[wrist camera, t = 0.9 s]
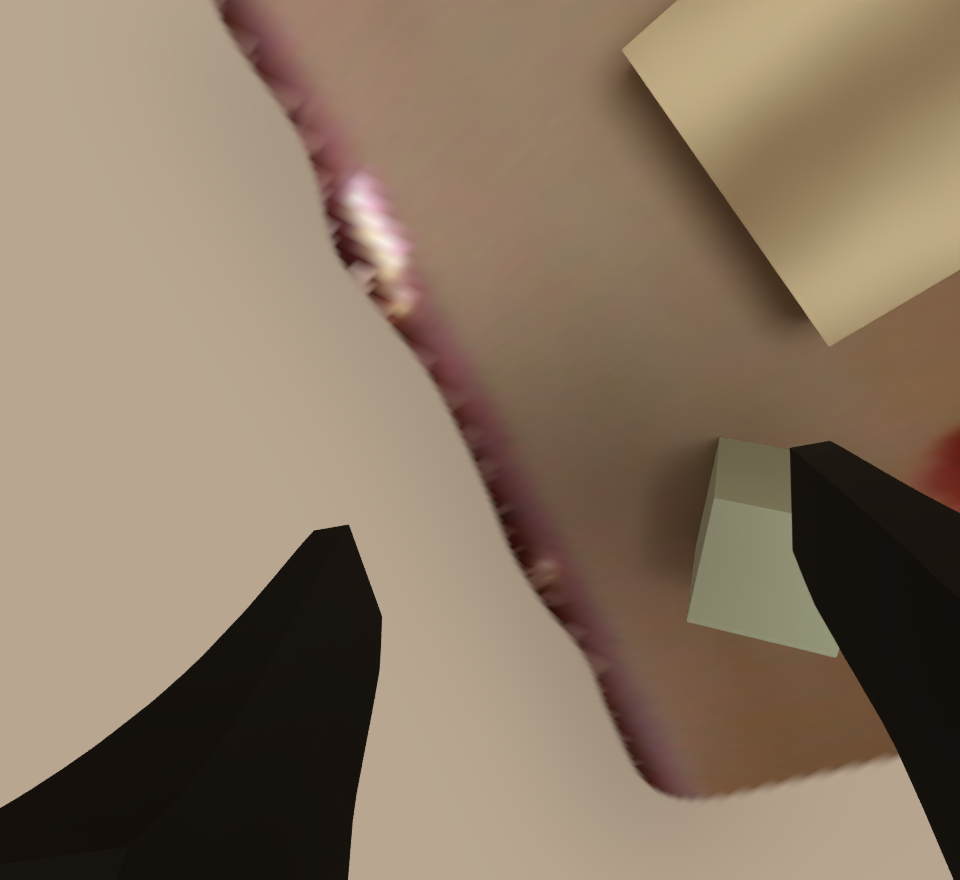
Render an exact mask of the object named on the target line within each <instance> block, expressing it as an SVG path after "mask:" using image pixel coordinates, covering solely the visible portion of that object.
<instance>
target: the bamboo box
mask: <svg viewBox="0 0 960 880" xmlns="http://www.w3.org/2000/svg"><path fill="white" fill-rule="evenodd" d="M622 51H623V53H624V54H625V55H626V57H627V58H628V60H629V61H630V63H631V64H632V65H633V67H634V68H635V70H636V71H637V73H638V74H639V75H640V77H641V78H642V80H643V81H644V83H645V84H646V86H647V87H648V88H649V90H650V91H651V93H652V94H653V96H654V97H655V98H656V100H657V101H658V103H659V104H660V106H661V107H662V108H663V110H664V111H665V113H666V114H667V116H668V117H669V118H670V120H671V121H672V123H673V124H674V126H675V127H676V128H677V130H678V131H679V133H680V134H681V136H682V137H683V139H684V140H685V141H686V143H687V144H688V146H689V147H690V149H691V150H692V151H693V153H694V154H695V156H696V157H697V159H698V160H699V161H700V163H701V164H702V166H703V167H704V169H705V170H706V171H707V173H708V174H709V176H710V177H711V179H712V180H713V181H714V183H715V184H716V186H717V187H718V189H719V190H720V191H721V193H722V194H723V196H724V197H725V199H726V200H727V202H728V203H729V204H730V206H731V207H732V209H733V210H734V212H735V213H736V214H737V216H738V217H739V219H740V220H741V222H742V223H743V224H744V226H745V227H746V229H747V230H748V232H749V233H750V234H751V236H752V237H753V239H754V240H755V242H756V243H757V244H758V246H759V247H760V249H761V250H762V252H763V253H764V255H765V256H766V257H767V259H768V260H769V262H770V263H771V265H772V266H773V267H774V269H775V270H776V272H777V273H778V275H779V276H780V277H781V279H782V280H783V282H784V283H785V285H786V286H787V287H788V289H789V290H790V292H791V293H792V295H793V296H794V297H795V299H796V300H797V302H798V303H799V305H800V306H801V307H802V309H803V310H804V312H805V313H806V315H807V316H808V318H809V319H810V320H811V322H812V323H813V325H814V326H815V328H816V329H817V330H818V332H819V333H820V335H821V336H822V338H823V339H824V340H825V342H826V343H827V345H828V346H829V347H830V346H831V345H833V344H835V343H836V342H838V341H840V340H841V339H843V338H845V337H847V336H848V335H850V334H852V333H853V332H855V331H857V330H858V329H860V328H862V327H863V326H865V325H867V324H869V323H870V322H872V321H874V320H875V319H877V318H879V317H880V316H882V315H884V314H885V313H887V312H889V311H891V310H892V309H894V308H896V307H897V306H899V305H901V304H902V303H904V302H906V301H907V300H909V299H911V298H912V297H914V296H916V295H918V294H919V293H921V292H923V291H924V290H926V289H928V288H929V287H931V286H933V285H934V284H936V283H938V282H940V281H941V280H943V279H945V278H946V277H948V276H950V275H951V274H953V273H955V272H956V271H958V270H960V0H677V1H676V2H675V3H674V4H673V5H671V6H670V7H669V8H668V9H667V10H666V11H665V12H664V13H662V14H661V15H660V16H659V17H658V18H657V19H656V20H655V21H653V22H652V23H651V24H650V25H649V26H648V27H647V28H646V29H644V30H643V31H642V32H641V33H640V34H639V35H638V36H637V37H635V38H634V39H633V40H632V41H631V42H630V43H629V44H628V45H626V46H625V47H624V48H623V49H622Z"/></svg>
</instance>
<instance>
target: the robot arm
mask: <svg viewBox="0 0 960 880" xmlns="http://www.w3.org/2000/svg"><path fill="white" fill-rule="evenodd" d="M790 475H791V513H792V551H793V553H794V556H795V558H796V561H797V563H798V566H799V568H800V571H801V574H802V576H803V579H804V581H805V583H806V586H807V588H808V591H809V593H810V595H811V598H812V600H813V602H814V605H815V606H816V608H817V610H818V612H819V614H820V615H821V617H822V619H823V621H824V622H825V624H826V626H827V628H828V629H829V631H830V633H831V635H832V636H833V638H834V640H835V642H836V643H837V645H838V647H839V648H840V650H841V652H842V654H843V655H844V657H845V659H846V660H847V662H848V664H849V666H850V667H851V669H852V671H853V672H854V674H855V676H856V678H857V679H858V681H859V683H860V684H861V686H862V688H863V690H864V691H865V693H866V695H867V696H868V698H869V700H870V702H871V703H872V705H873V707H874V708H875V710H876V712H877V714H878V715H879V717H880V719H881V720H882V722H883V724H884V726H885V728H886V730H887V732H888V734H889V736H890V737H891V739H892V741H893V743H894V745H895V747H896V749H897V751H898V753H899V756H900V758H901V760H902V762H903V764H904V767H905V769H906V771H907V773H908V776H909V778H910V780H911V782H912V784H913V787H914V789H915V791H916V793H917V796H918V798H919V800H920V802H921V804H922V807H923V809H924V811H925V814H926V816H927V818H928V821H929V823H930V825H931V828H932V830H933V832H934V834H935V837H936V839H937V842H938V844H939V846H940V849H941V851H942V853H943V856H944V858H945V861H946V863H947V865H948V867H949V870H950V872H951V874H952V877H953V879H954V880H960V513H959V512H957V511H955V510H953V509H951V508H949V507H947V506H945V505H943V504H941V503H939V502H937V501H935V500H934V499H932V498H930V497H928V496H926V495H924V494H922V493H921V492H919V491H917V490H915V489H913V488H911V487H910V486H908V485H906V484H904V483H903V482H901V481H899V480H897V479H896V478H894V477H892V476H890V475H889V474H887V473H885V472H883V471H882V470H880V469H878V468H877V467H875V466H873V465H871V464H870V463H868V462H866V461H865V460H863V459H861V458H859V457H858V456H856V455H854V454H853V453H851V452H849V451H847V450H846V449H844V448H842V447H840V446H838V445H837V444H835V443H833V442H831V441H827V442H821V443H815V444H810V445H804V446H798V447H792V448H790ZM381 630H382V615H381V612H380V610H379V607H378V604H377V601H376V598H375V596H374V593H373V590H372V587H371V585H370V582H369V580H368V576H367V574H366V571H365V568H364V565H363V563H362V560H361V557H360V554H359V552H358V549H357V546H356V543H355V541H354V538H353V535H352V532H351V529H350V527H349V525H343V526H338V527H332V528H326V529H320V530H315V531H313V532H312V534H310V536H309V537H308V538H307V539H306V540H305V541H304V542H303V543H302V545H301V546H300V547H299V548H298V549H297V550H296V552H295V553H294V554H293V555H292V556H291V557H290V559H289V560H288V561H287V562H286V564H285V565H284V566H283V567H282V568H281V569H280V571H279V572H278V573H277V574H276V575H275V577H274V578H273V579H272V580H271V581H270V582H269V584H268V585H267V586H266V587H265V588H264V590H263V591H262V592H261V593H260V594H259V595H258V596H257V598H256V599H255V600H254V601H253V602H252V603H251V605H250V606H249V607H248V608H247V609H246V610H245V612H243V614H242V615H241V616H240V617H239V618H238V619H237V620H236V621H235V622H234V623H233V624H232V625H231V626H230V628H228V629H227V631H226V632H225V633H224V634H223V635H222V636H221V637H220V638H219V639H218V640H217V641H216V642H215V643H214V644H213V646H211V648H210V649H209V650H208V651H207V652H206V653H205V654H204V655H203V656H202V657H201V658H200V659H199V660H198V661H197V662H196V663H195V664H193V665H192V666H191V667H190V668H189V669H188V670H187V671H186V672H185V673H184V674H183V675H182V676H181V677H180V678H179V679H177V680H176V681H175V682H174V683H173V684H172V685H171V686H169V687H168V688H167V689H166V690H165V691H164V692H163V693H162V694H160V695H159V696H158V697H157V698H156V699H155V700H154V701H152V702H151V703H150V704H149V705H147V706H146V707H145V708H144V709H142V710H141V711H140V712H139V713H137V714H136V715H135V716H134V717H132V718H131V719H130V720H128V721H127V722H126V723H124V724H123V725H122V726H121V727H119V728H118V729H117V730H116V731H114V732H113V733H112V734H110V735H109V736H108V737H106V738H105V739H104V740H103V741H102V742H100V743H99V744H97V745H96V746H95V747H93V748H92V749H91V750H89V751H88V752H86V753H85V754H83V755H82V756H81V757H79V758H78V759H76V760H75V761H73V762H72V763H70V764H69V765H68V766H66V767H65V768H63V769H62V770H60V771H59V772H57V773H56V774H54V775H53V776H51V777H50V778H48V779H46V780H45V781H43V782H42V783H40V784H39V785H37V786H36V787H34V788H33V789H31V790H29V791H28V792H26V793H25V794H23V795H21V796H20V797H18V798H17V799H15V800H13V801H11V802H10V803H8V804H6V805H5V806H3V807H1V808H0V880H348V872H349V860H350V848H351V836H352V823H353V815H354V808H355V801H356V794H357V788H358V783H359V777H360V773H361V768H362V762H363V757H364V752H365V746H366V741H367V736H368V731H369V725H370V720H371V715H372V710H373V704H374V699H375V693H376V687H377V682H378V676H379V669H380V653H381Z"/></svg>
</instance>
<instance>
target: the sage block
mask: <svg viewBox="0 0 960 880" xmlns="http://www.w3.org/2000/svg"><path fill="white" fill-rule="evenodd" d="M687 622H689V623H693V624H698V625H702V626H706V627H710V628H714V629H718V630H723V631H727V632H731V633H735V634H739V635H743V636H747V637H752V638H756V639H760V640H764V641H768V642H772V643H777V644H781V645H785V646H789V647H793V648H797V649H802V650H806V651H810V652H814V653H818V654H822V655H826V656H831V657H835V658H836V657H837V654H838V651H839V647H838V645H837V643H836V642H835V640H834V638H833V636H832V635H831V633H830V631H829V629H828V628H827V626H826V624H825V622H824V621H823V619H822V617H821V615H820V614H819V612H818V610H817V608H816V606H815V605H814V602H813V600H812V598H811V595H810V593H809V591H808V588H807V586H806V583H805V581H804V579H803V576H802V574H801V571H800V568H799V566H798V563H797V561H796V558H795V556H794V553H793V551H792V513H791V475H790V450H789V449H784V448H778V447H773V446H767V445H762V444H756V443H751V442H746V441H740V440H735V439H729V438H724V437H720V438H719V443H718V447H717V452H716V456H715V461H714V465H713V470H712V474H711V479H710V483H709V488H708V493H707V497H706V502H705V506H704V511H703V515H702V520H701V524H700V529H699V533H698V538H697V543H696V547H695V556H694V564H693V572H692V580H691V589H690V597H689V605H688V613H687Z"/></svg>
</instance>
